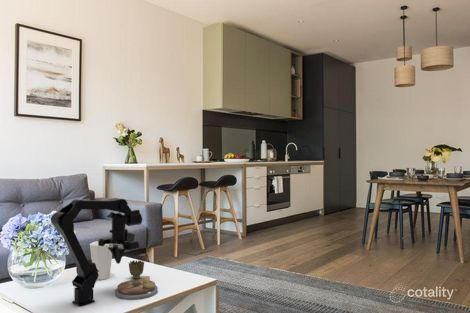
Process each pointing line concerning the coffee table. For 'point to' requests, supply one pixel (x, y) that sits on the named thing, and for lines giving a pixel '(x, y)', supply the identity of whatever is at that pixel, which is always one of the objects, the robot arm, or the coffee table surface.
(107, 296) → the coffee table surface
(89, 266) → the robot arm
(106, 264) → the cup
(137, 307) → the coffee table surface
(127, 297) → the wheel base
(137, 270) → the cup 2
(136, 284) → the handwheel
